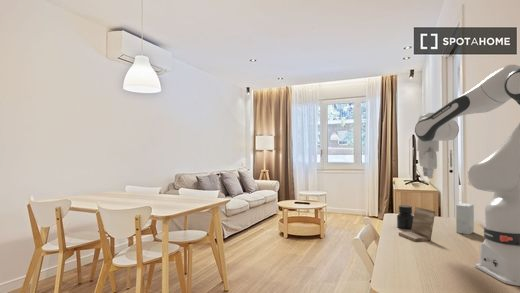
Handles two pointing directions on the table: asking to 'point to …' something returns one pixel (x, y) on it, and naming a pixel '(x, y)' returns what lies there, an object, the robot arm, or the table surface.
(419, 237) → the laid plank
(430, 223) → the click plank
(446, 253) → the table surface
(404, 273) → the table surface
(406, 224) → the ink bottle
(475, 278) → the table surface
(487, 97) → the robot arm
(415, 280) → the table surface
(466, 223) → the skincare box
